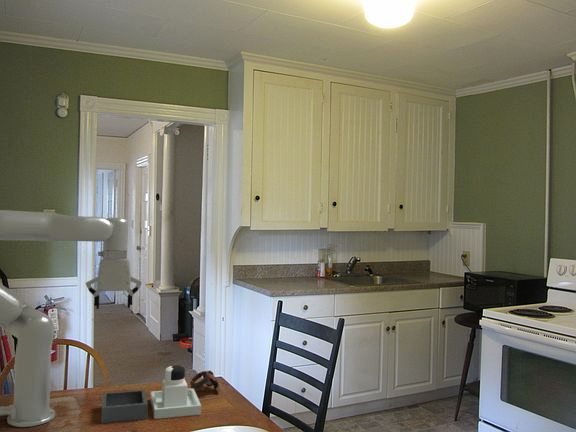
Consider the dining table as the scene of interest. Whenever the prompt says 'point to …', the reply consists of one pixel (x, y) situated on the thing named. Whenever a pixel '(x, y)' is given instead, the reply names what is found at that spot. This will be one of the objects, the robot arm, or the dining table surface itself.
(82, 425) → the dining table surface
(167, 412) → the tray
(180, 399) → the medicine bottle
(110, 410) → the holder
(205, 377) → the broken pottery ring
